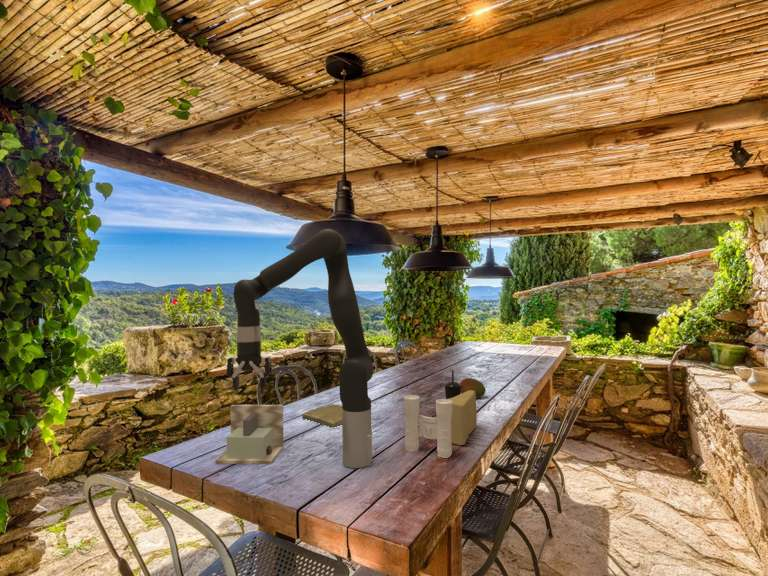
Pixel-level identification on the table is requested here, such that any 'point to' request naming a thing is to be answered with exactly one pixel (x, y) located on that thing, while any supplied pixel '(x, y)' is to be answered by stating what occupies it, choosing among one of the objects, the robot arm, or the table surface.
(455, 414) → the cheese
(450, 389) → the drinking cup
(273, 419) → the wooden stand
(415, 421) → the binoculars
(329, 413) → the decorative tile
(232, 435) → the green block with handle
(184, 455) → the table surface
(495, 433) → the table surface
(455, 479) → the table surface
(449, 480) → the table surface
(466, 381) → the fruit
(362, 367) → the robot arm
